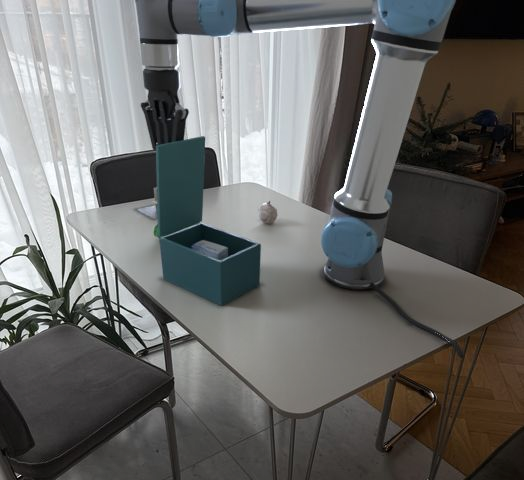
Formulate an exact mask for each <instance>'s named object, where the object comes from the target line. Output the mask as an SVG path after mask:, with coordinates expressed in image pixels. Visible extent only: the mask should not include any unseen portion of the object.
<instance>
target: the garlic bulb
mask: <svg viewBox="0 0 524 480" xmlns="http://www.w3.org/2000/svg"><path fill="white" fill-rule="evenodd" d="M257 215H258V218H259V220H260V221H261V222H262V223H265V224H268V225H269V224H273V223H274V222H275V221H276V220H277V218H278V209H277V208H276V207H275V205H274V204H272V203H271V200H269V201H268V202H264V203H262V204H261V205H260V206H259V208H258V211H257Z"/></svg>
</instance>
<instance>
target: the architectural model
mask: <svg viewBox="0 0 524 480" xmlns="http://www.w3.org/2000/svg"><path fill="white" fill-rule="evenodd" d="M153 194H154V195H153V196H154V199H153V200H151V202H152V203H154V205H151V206H145V207H142V208H137V209H136V211H138V212H139V213H141V214H144V215H145V216H147V217H149V218H151V219H153V220H158V213H157V186H156V187H153Z"/></svg>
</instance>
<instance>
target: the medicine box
mask: <svg viewBox="0 0 524 480" xmlns="http://www.w3.org/2000/svg"><path fill="white" fill-rule="evenodd" d="M192 249H193V250H195V251H198V252H200V253H203V254H205V255H208V256H210V257H213V258H215V259H218V260H220V261H221V260H223V259H225V258H227V257H228V248H227V247H225V246H221V245H218V244H215V243H212V242H208V241H205V240H202V241H199V242H197V243H195V244H194V245H192Z"/></svg>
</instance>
